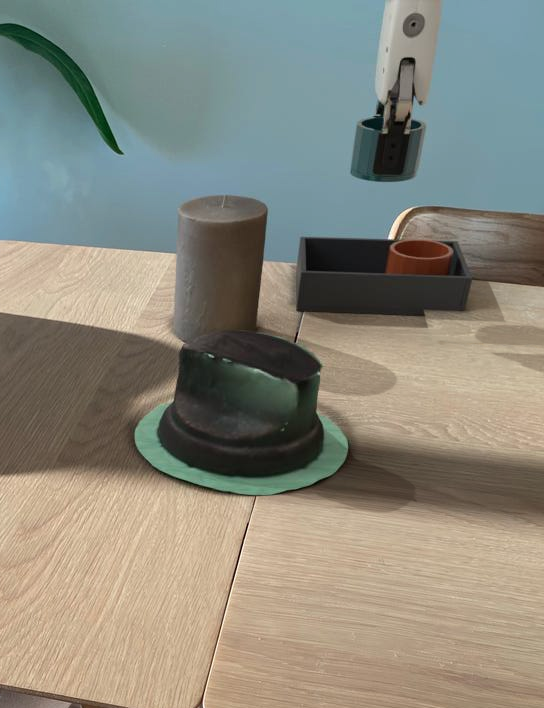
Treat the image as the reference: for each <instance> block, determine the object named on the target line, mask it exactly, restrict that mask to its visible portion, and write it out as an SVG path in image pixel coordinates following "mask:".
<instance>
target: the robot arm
mask: <svg viewBox="0 0 544 708" xmlns="http://www.w3.org/2000/svg"><path fill="white" fill-rule="evenodd" d="M442 8H443V0H385V3H384V9H383V15H382V22H381V27H380V29H381V30H380V36H379V43H378V49H377V59H376V67H375V79H374V89H375V90H374V91H375V93H376V97H377V102H376V106H375V112H374V113H375V115H373V116H372V117H383V124H382V133H378V139H377V146H376V152H375V158H374V164H373V173H374V174H376V175H401V174H402V173H403V171H404V166H405V161H406V155H407V150H408V144H409V139H410V133H409V132H410V126H411V119H413V118H412V117H413V110H414V109H413V108H414V102H415V101H414V100H416V102H417V103H418V105H419V106H425V104H427V103H428V101H429V97H430V91H431V90H430V89H431V83H432V77H433V71H434V64H435V59H436V51H437V45H438V39H439V32H440V25H441V20H442V19H441V18H442ZM389 119H390V120H389Z"/></svg>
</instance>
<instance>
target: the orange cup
mask: <svg viewBox="0 0 544 708" xmlns="http://www.w3.org/2000/svg"><path fill="white" fill-rule="evenodd" d="M400 240H401V241H398V242H395V243H393V244H392V245H391V246H390V248H389V254H388V259H387V265H386V270H385V274H411V275H440V276H448V274H449V270H450V265H451V261H452V256H453V250H452V248H451V247H449V246H448V245H446V244H443V243H440V242H437V241H438V240H433V241H431V240H429V239H421V238H420V239H419V238H418V239H417V238H412V239H400Z"/></svg>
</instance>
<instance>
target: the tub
mask: <svg viewBox="0 0 544 708" xmlns="http://www.w3.org/2000/svg"><path fill="white" fill-rule="evenodd" d="M401 240H402V239H399V238H398V239H393V238H364V237H363V238H361V237H359V238H358V237H326V236H325V237H323V236H300V237H299V245H298V253H297V254H298V255H297V261H296V269H295V310H296V311H297V312H317V313H318V312H319V313H341V314H343V313H344V314H367V315H368V314H369V315H388V316H389V315H392V316H416V317H418V316H419V317H425V316H426V315H425V311H448V312H449V311H450V312H466V311H465V310H466V307H467V303H468V298H469V295H470V290H471V286H472V282H473V277H472V274H471V272H470V269H469V267H468V264H467V261H466V260H465V256H464V253H463V252H462V249H461V246H460V244H459V241H457V240H436V241H437V242H440V243H443V244H446V245H448V246H449V247H451V248H452V250H453V256H452V261H451V265H450V270H449V274H448V276H440V275H411V274H385V270H386V265H387V259H388V254H389V248H390V246H391V245H392V244H393V243H395V242H398V241H401ZM431 241H434V240H431Z"/></svg>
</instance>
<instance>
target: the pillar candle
mask: <svg viewBox="0 0 544 708" xmlns="http://www.w3.org/2000/svg"><path fill="white" fill-rule="evenodd" d="M268 212H269V209H268V206H267V204H266V203H265V202H262V200H261V201H260V200H259V199H256V198H253V197H249V196H241V195H233V194H219V195H218V194H217V195H216V194H215V195H206V196H200V197H199V196H197V197H194V198H190V199H188V200H186V201H183V203H181V204H179V205H178V207H177V236H176V237H177V238H176V258H175V259H176V261H175V280H174V281H175V282H174V305H173V307H174V308H173V331H174V334H175V335H176V337H177V338H178V339H179V340H181V341H182V342H185V343H187V342H188V341H190V340H192V339H194V338H197V337H200V336H203V335H206V334H210V333H213V332H217V331H227V330H244V331H252V332H258V327H257V322H258V313H259V303H260V294H261V286H262V285H261V284H262V274H263V266H264V257H265V247H266V235H267V224H268Z"/></svg>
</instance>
